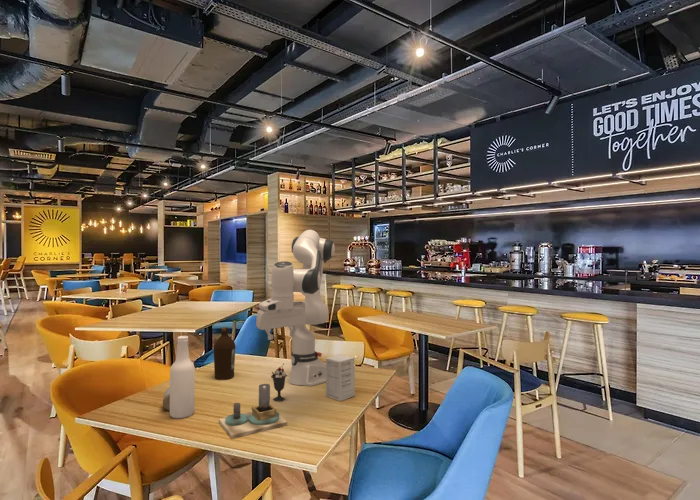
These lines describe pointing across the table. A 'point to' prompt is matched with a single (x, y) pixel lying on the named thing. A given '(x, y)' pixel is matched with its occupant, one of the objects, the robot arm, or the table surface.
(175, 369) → the alcohol
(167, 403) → the ceramic mug
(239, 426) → the gear board
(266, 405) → the axle
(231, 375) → the olive oil
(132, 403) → the table surface
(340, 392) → the supplement box
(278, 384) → the sundae
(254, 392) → the table surface
